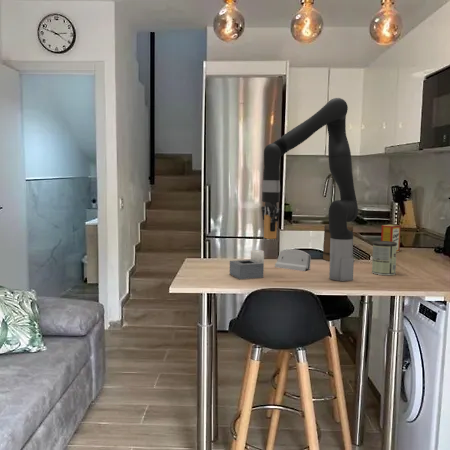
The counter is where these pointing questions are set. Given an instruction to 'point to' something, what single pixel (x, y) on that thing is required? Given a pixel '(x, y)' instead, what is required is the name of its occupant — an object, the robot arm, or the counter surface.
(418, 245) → the counter surface
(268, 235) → the square bit
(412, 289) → the counter surface
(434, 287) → the counter surface
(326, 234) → the wooden container
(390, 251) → the coffee can
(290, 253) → the grey curved-top upright plate
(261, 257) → the round bit
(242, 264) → the block
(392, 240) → the baking soda box
